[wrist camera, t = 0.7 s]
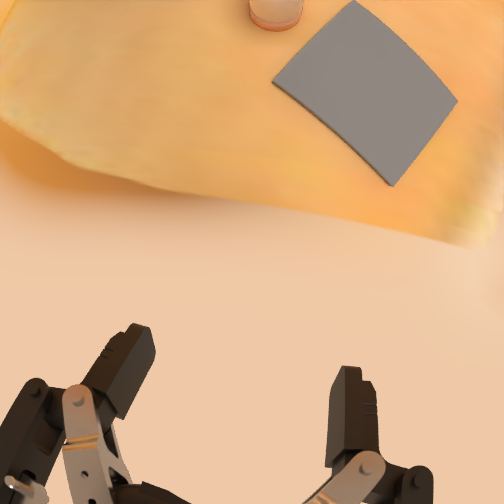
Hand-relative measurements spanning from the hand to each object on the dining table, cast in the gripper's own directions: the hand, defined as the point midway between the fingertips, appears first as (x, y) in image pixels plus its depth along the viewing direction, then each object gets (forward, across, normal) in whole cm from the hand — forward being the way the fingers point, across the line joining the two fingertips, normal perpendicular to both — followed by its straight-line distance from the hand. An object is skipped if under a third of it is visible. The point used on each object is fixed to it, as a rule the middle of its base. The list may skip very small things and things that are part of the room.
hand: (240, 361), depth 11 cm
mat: (+24, -8, -12) cm, 28 cm away
